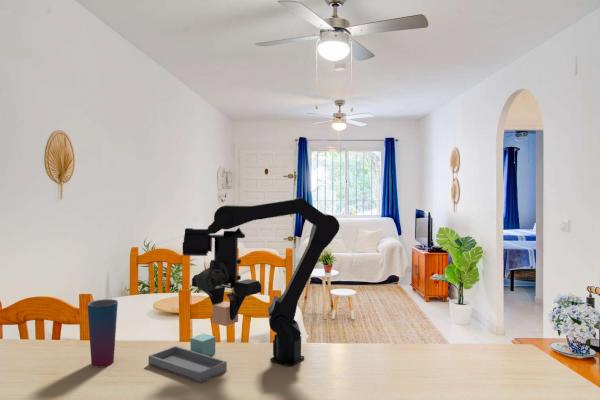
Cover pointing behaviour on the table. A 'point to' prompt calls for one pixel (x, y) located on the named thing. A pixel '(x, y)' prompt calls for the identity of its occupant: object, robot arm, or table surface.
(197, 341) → the teal block
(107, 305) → the cup
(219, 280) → the robot arm
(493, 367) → the table surface
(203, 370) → the tray
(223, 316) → the terracotta block
